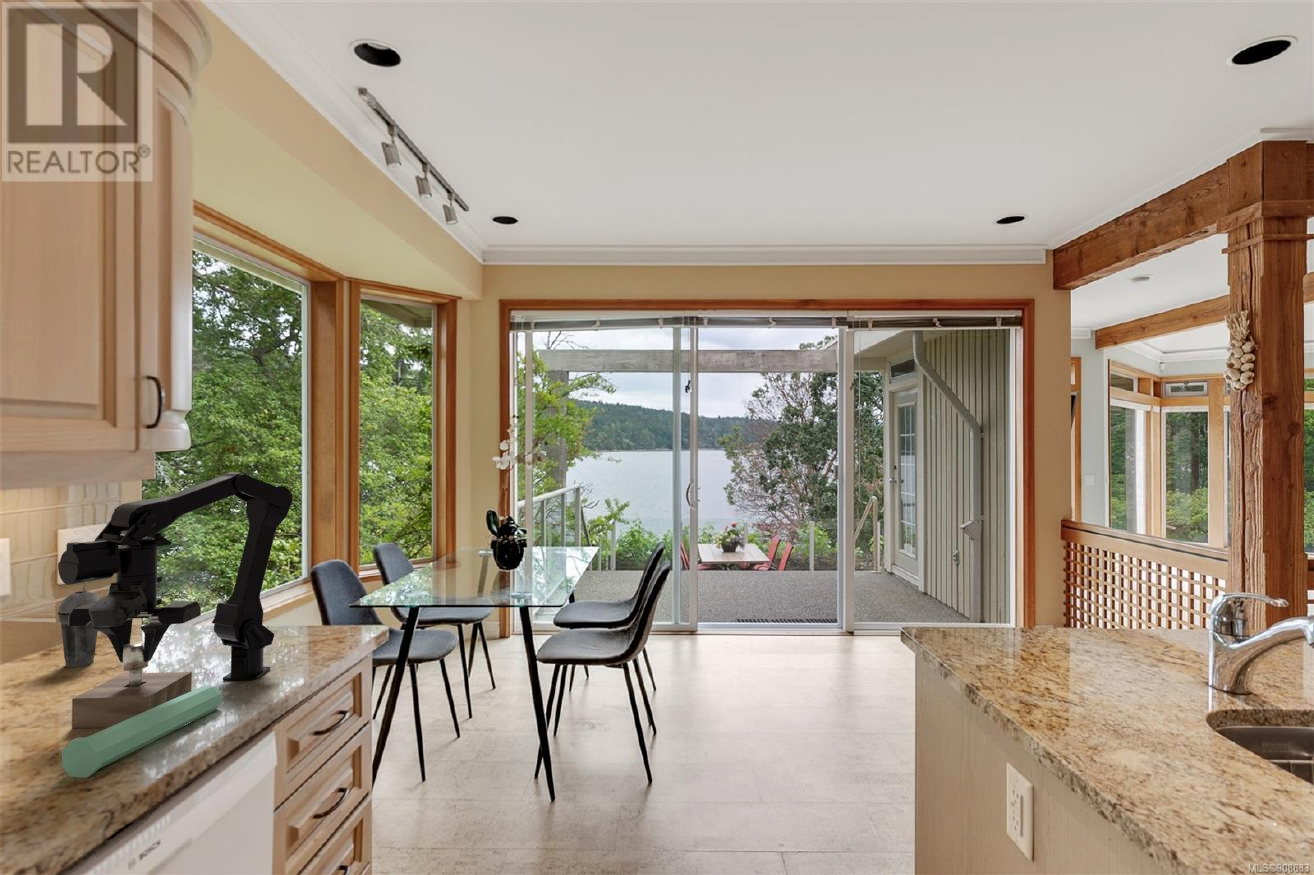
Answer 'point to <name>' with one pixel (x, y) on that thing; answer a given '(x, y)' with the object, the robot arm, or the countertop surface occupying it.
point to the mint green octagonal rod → (137, 731)
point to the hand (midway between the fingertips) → (135, 661)
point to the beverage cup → (78, 631)
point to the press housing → (127, 698)
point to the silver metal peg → (134, 662)
